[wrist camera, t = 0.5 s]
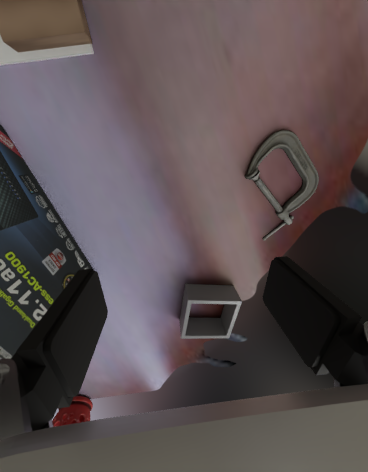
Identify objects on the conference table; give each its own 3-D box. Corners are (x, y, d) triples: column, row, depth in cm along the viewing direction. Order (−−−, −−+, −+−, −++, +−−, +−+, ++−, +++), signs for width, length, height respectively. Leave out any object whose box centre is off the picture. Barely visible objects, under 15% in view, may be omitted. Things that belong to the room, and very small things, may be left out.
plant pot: (82, 413, 70) (67, 460, 59) (52, 403, 65) (30, 452, 54) (104, 399, 67) (92, 446, 56) (75, 388, 62) (56, 436, 51)
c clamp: (324, 195, 41) (334, 198, 39) (262, 239, 44) (268, 244, 42) (290, 116, 33) (300, 113, 31) (219, 177, 37) (223, 178, 34)
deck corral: (185, 283, 47) (188, 300, 42) (233, 285, 49) (241, 301, 44) (179, 319, 53) (181, 338, 47) (222, 320, 55) (229, 338, 49)
